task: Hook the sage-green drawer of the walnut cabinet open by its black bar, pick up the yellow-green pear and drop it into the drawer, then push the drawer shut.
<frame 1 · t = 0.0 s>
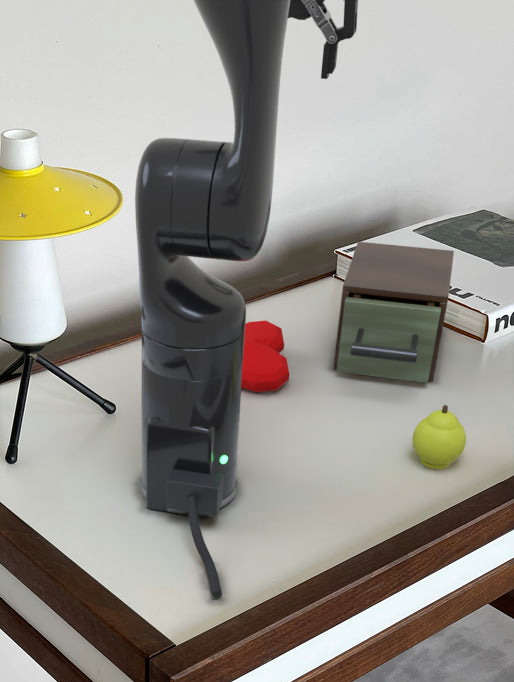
hand: (288, 75, 118), 29 cm above the table, tool pointing down, fingers open, 8 cm apart
cabinet: (388, 349, 125), on the table
drawer: (389, 328, 118), point 5 cm above the table, slide at 1.0 cm
pear: (434, 461, 104), on the table
heart: (242, 373, 120), on the table
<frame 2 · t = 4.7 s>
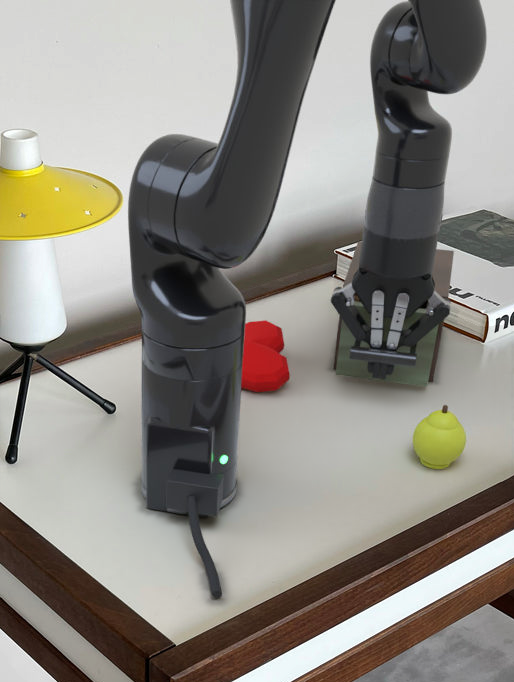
hand: (379, 375, 113), 3 cm above the table, tool pointing down, fingers closed
drawer: (389, 331, 117), point 5 cm above the table, slide at 1.9 cm, touching gripper
everything else where it was.
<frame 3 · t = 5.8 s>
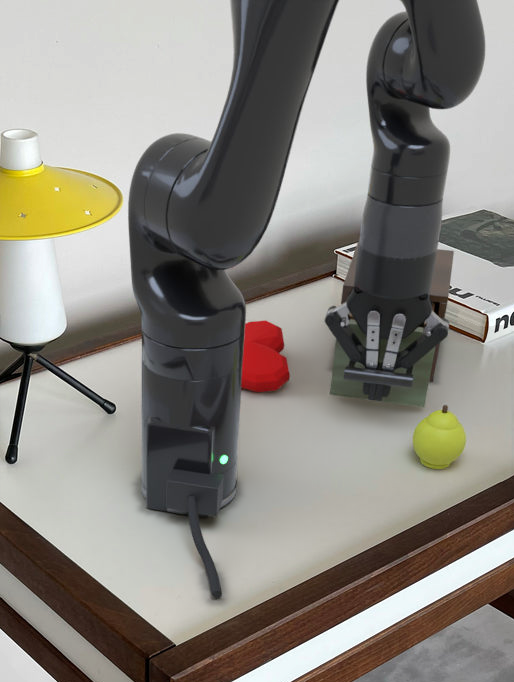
hand: (375, 397, 109), 3 cm above the table, tool pointing down, fingers closed
drawer: (385, 350, 113), point 5 cm above the table, slide at 6.9 cm, touching gripper
everything else where it was.
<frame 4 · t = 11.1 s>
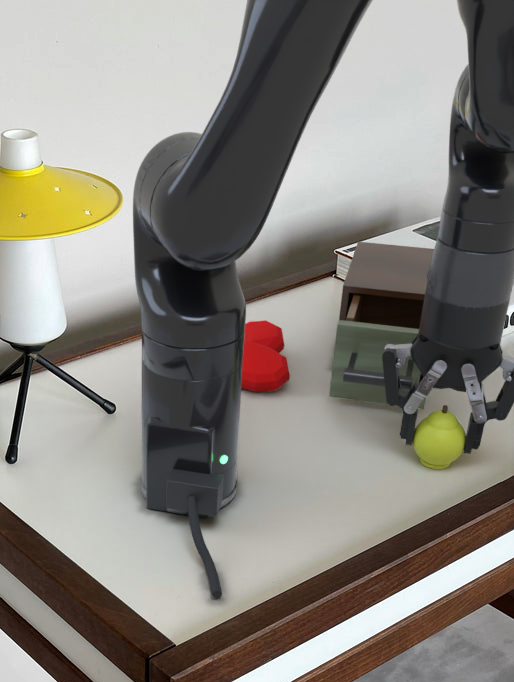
hand: (438, 445, 103), 2 cm above the table, tool pointing down, fingers closed on pear, 5 cm apart
drawer: (384, 352, 113), point 5 cm above the table, slide at 7.4 cm
pear: (434, 461, 104), on the table, touching gripper
everything else where it was.
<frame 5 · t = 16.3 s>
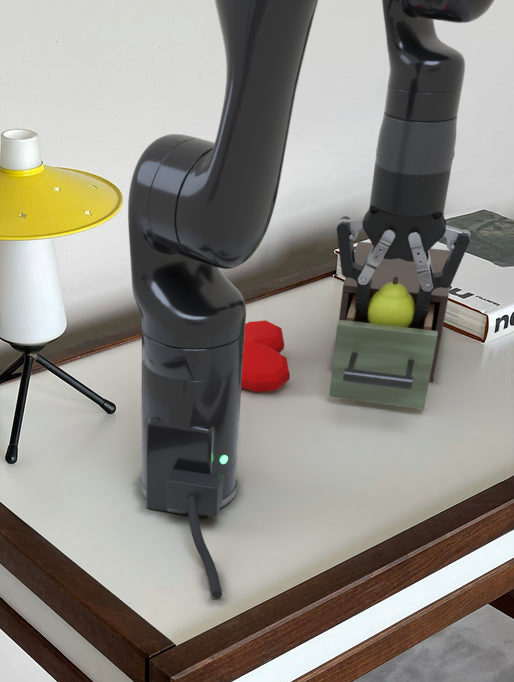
hand: (390, 316, 111), 9 cm above the table, tool pointing down, fingers closed on pear, 5 cm apart
pear: (387, 332, 113), point 7 cm above the table, touching gripper
everything else where it was.
when the fingers open (12 cm above the table, at t = 31.7 s): pear drops 8 cm, resting on drawer.
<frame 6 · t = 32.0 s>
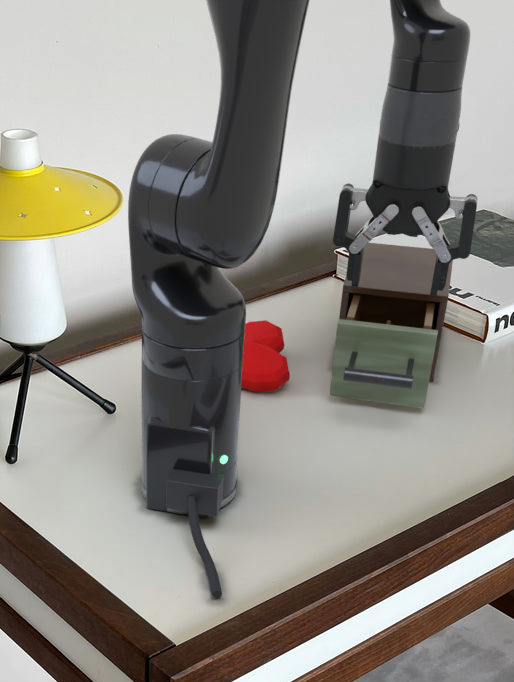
hand: (394, 288, 109), 12 cm above the table, tool pointing down, fingers open, 8 cm apart
drawer: (384, 351, 113), point 5 cm above the table, slide at 7.2 cm, touching pear
pear: (381, 373, 115), point 2 cm above the table, touching drawer
everything else where it was.
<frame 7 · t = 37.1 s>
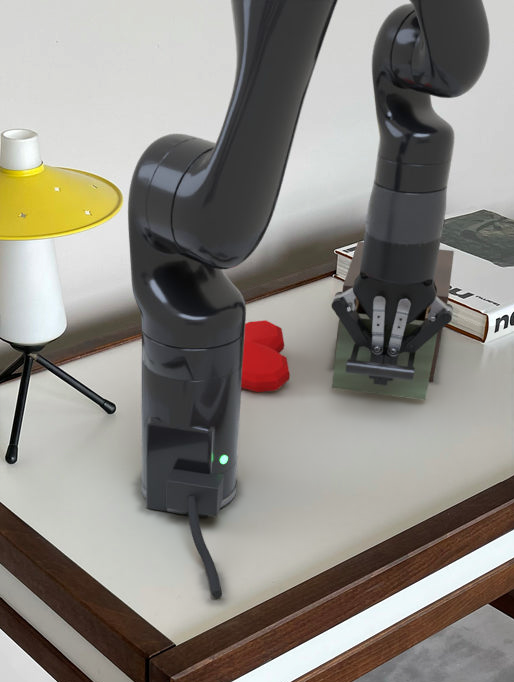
hand: (381, 381, 111), 3 cm above the table, tool pointing down, fingers closed
drawer: (386, 343, 114), point 5 cm above the table, slide at 5.2 cm, touching gripper, hand, pear
pear: (382, 366, 117), point 2 cm above the table, touching drawer
everything else where it was.
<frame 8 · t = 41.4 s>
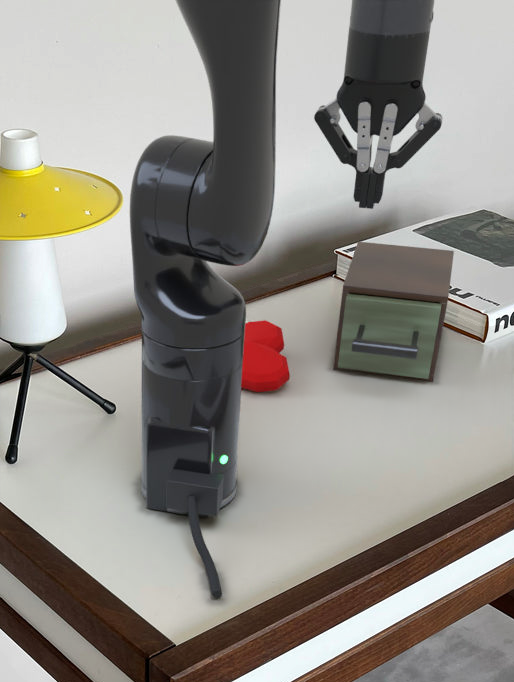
hand: (367, 205, 105), 21 cm above the table, tool pointing down, fingers closed
drawer: (390, 324, 118), point 5 cm above the table, slide at 0.0 cm, touching pear
pear: (387, 347, 121), point 2 cm above the table, touching drawer
everything else where it was.
at the end: drawer pulled out 7.4 cm at the most during the clip, back to where it started at the end; pear inside the target area in the cabinet (3.6 cm from its centre), point 2.0 cm above the cabinet's base; drawer slide at 0.0 cm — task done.
